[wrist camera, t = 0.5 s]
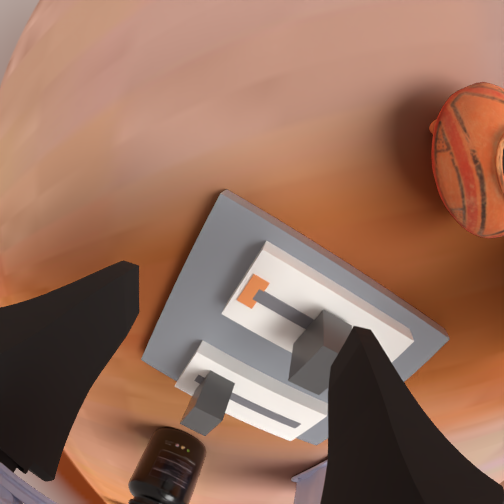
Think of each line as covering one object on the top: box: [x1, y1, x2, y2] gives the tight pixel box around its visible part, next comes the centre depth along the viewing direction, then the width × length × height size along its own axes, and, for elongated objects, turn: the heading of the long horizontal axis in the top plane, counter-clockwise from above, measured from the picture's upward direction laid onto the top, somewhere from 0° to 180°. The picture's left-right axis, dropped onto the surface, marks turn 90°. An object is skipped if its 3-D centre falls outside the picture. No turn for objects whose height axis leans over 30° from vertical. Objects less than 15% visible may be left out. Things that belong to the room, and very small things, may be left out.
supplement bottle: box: [128, 428, 206, 504], centre depth 25 cm, size 7×7×12 cm
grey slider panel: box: [141, 189, 450, 445], centre depth 19 cm, size 16×18×6 cm
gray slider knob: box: [288, 309, 352, 395], centre depth 15 cm, size 3×2×3 cm, turn 151°
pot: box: [429, 82, 504, 238], centre depth 11 cm, size 8×8×7 cm
